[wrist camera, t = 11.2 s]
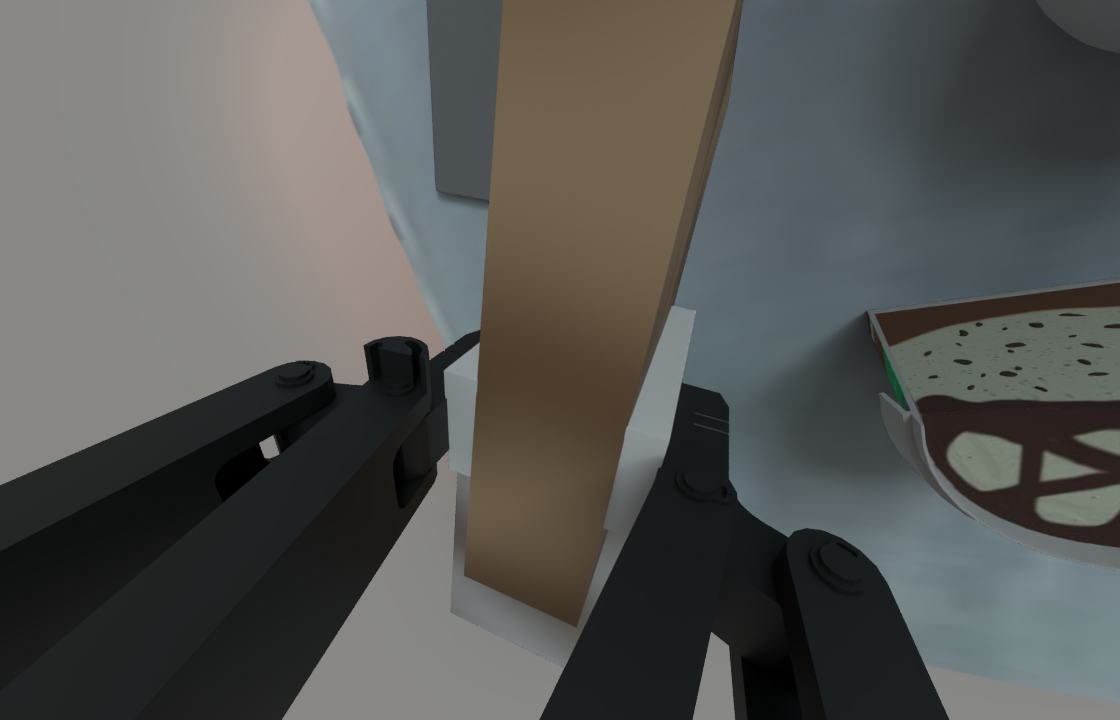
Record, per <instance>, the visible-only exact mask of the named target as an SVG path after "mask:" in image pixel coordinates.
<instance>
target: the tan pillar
mask: <svg viewBox="0 0 1120 720" xmlns="http://www.w3.org/2000/svg"><path fill="white" fill-rule="evenodd" d="M742 4H743V0H503V9H502V24H501V38H500V53H499V68H498V82H497V97H496V112H495V126H494V141H493V156H492V170H491V185H490V200H489V214H488V229H487V244H486V258H485V273H484V287H483V302H482V317H481V331H480V346H479V361H478V375H477V380H478V385H477V392H476V405H475V419H474V434H473V449H472V463H471V477H469V476H467V475H464V474H461V473H459V472H458V476H457V494H456V514H455V533H454V553H453V574H452V592H451V611H450V612H451V613H453V614H455V615H457V616H459V617H461V618H463V619H465V620H468V621H469V622H472V623H473V624H475V625H477V626H480V627H482V628H484V629H486V630H488V631H490V632H492V633H494V634H496V635H498V636H500V637H502V638H504V639H506V640H508V641H510V642H512V643H514V644H516V645H518V646H520V647H522V648H524V649H526V650H528V651H530V652H532V653H534V654H536V655H538V656H540V657H543V658H544V659H546V660H549V661H550V662H553V663H554V664H556V665H559V666H561V667H563V668H565V666H566V664H567V662H568V660H569V657H570V655H571V653H572V651H573V649H574V647H575V645H576V643H577V641H578V639H579V637H580V635H581V633H582V631H583V628H584V626H585V624H586V622H587V620H588V618H589V616H590V614H591V612H592V610H593V608H594V606H595V604H596V601H597V599H598V597H599V595H600V593H601V591H602V589H603V587H604V585H605V583H606V581H607V579H608V577H609V574H610V572H611V570H612V568H613V566H614V564H615V562H616V560H617V558H618V556H619V554H620V552H621V550H622V547H623V545H624V543H625V541H626V539H627V537H625V536H622V535H619V534H617V533H614V532H612V531H609V530H606V529H604V528H603V525H604V521H605V517H606V513H607V509H608V505H609V501H610V497H611V493H612V488H613V484H614V480H615V476H616V472H617V468H618V464H619V460H620V456H621V452H622V447H623V443H624V436H625V432H626V428H627V427H628V425H629V422H630V419H631V416H632V414H633V411H634V408H635V405H636V403H637V400H638V397H639V395H640V392H641V389H642V386H643V384H644V381H645V378H646V375H647V373H648V370H649V367H650V364H651V362H652V359H653V356H654V353H655V351H656V348H657V345H658V343H659V340H660V337H661V334H662V332H663V329H664V326H665V323H666V321H667V318H668V315H669V312H670V310H671V307H672V306H674V302H675V298H676V294H677V291H678V287H679V283H680V280H681V276H682V272H683V269H684V265H685V261H686V257H687V254H688V250H689V246H690V243H691V239H692V235H693V231H694V228H695V224H696V220H697V217H698V213H699V209H700V206H701V202H702V198H703V194H704V191H705V187H706V183H707V180H708V176H709V172H710V168H711V165H712V161H713V157H714V154H715V150H716V146H717V143H718V139H719V135H720V131H721V128H722V124H723V120H724V117H725V113H726V109H727V105H728V101H729V94H730V87H731V81H732V74H733V67H734V60H735V53H736V46H737V39H738V32H739V25H740V18H741V11H742Z"/></svg>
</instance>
